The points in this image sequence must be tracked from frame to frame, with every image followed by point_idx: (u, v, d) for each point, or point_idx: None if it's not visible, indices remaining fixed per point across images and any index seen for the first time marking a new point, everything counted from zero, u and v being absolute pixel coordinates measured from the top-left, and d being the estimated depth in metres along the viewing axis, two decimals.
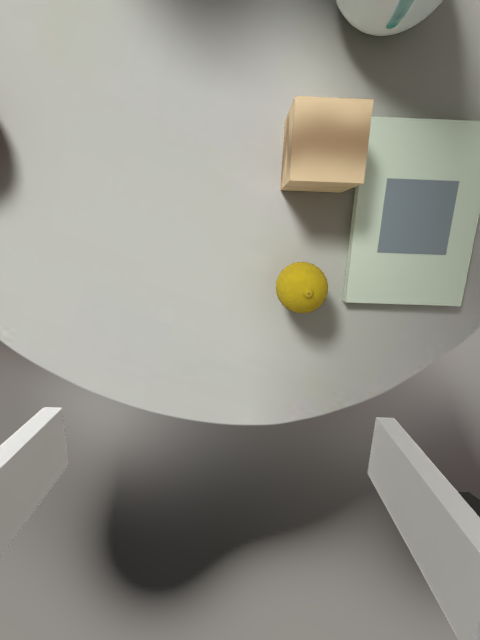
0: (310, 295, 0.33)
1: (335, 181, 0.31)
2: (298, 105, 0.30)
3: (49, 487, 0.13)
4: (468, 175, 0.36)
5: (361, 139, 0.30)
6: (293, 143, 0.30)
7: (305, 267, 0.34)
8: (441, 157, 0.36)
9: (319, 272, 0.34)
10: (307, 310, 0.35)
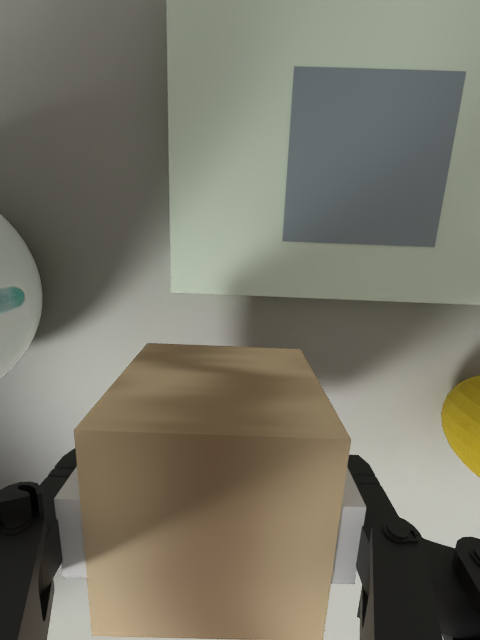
0: None
1: (335, 523, 0.09)
2: (116, 629, 0.10)
3: None
4: (282, 43, 0.15)
5: (203, 456, 0.09)
6: (219, 636, 0.10)
7: None
8: (242, 121, 0.16)
9: None
10: None
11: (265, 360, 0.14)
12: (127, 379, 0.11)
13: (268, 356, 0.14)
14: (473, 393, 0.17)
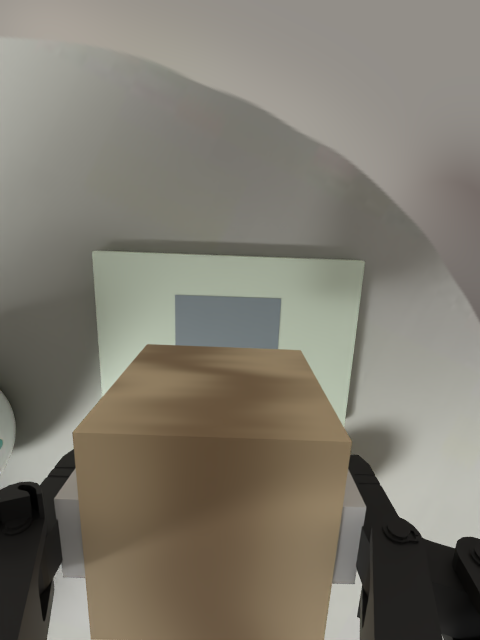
0: None
1: (336, 526, 0.09)
2: (115, 632, 0.10)
3: None
4: (166, 282, 0.25)
5: (202, 459, 0.08)
6: (219, 639, 0.10)
7: None
8: (145, 324, 0.25)
9: None
10: None
11: (265, 361, 0.14)
12: (126, 381, 0.11)
13: (268, 357, 0.14)
14: None
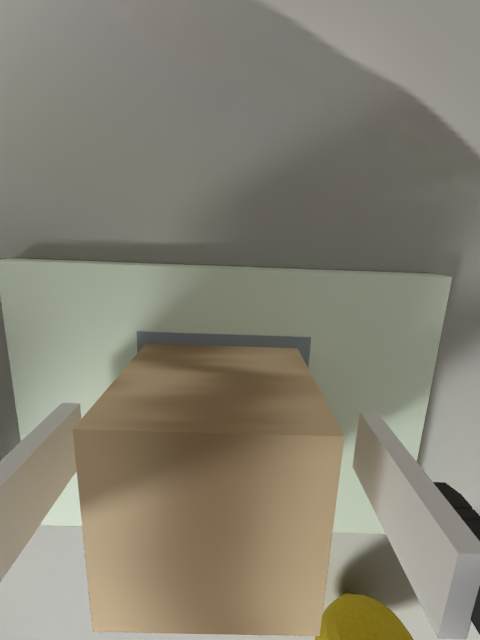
0: None
1: (330, 519, 0.09)
2: (116, 625, 0.10)
3: (68, 480, 0.13)
4: (122, 311, 0.15)
5: (199, 454, 0.09)
6: (217, 631, 0.10)
7: None
8: (89, 378, 0.16)
9: None
10: None
11: (262, 360, 0.14)
12: (125, 379, 0.11)
13: (265, 355, 0.14)
14: None
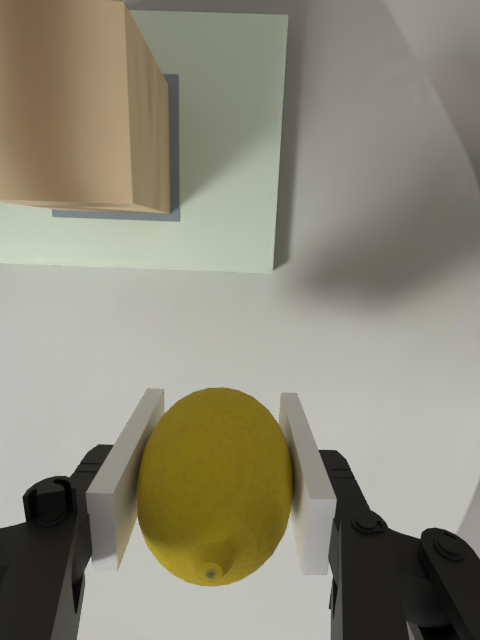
0: (218, 568, 0.08)
1: (126, 84, 0.13)
2: None
3: None
4: None
5: (24, 19, 0.12)
6: (57, 197, 0.14)
7: (138, 516, 0.10)
8: None
9: (150, 475, 0.10)
10: (281, 518, 0.10)
11: None
12: None
13: None
14: (163, 417, 0.12)
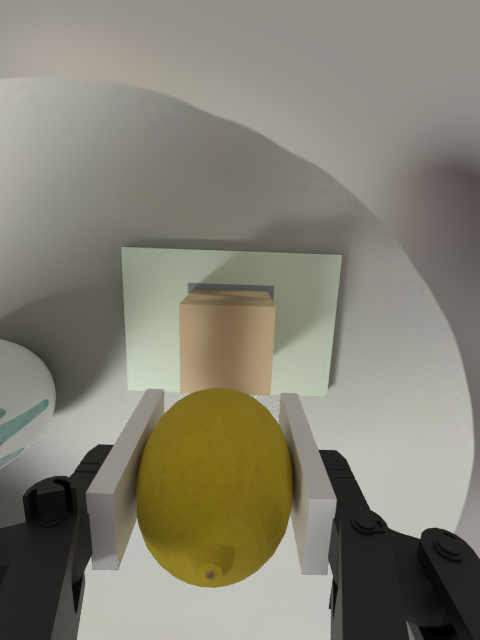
0: (217, 569, 0.08)
1: (272, 341, 0.25)
2: (189, 389, 0.26)
3: None
4: (180, 272, 0.30)
5: (224, 314, 0.24)
6: None
7: (137, 517, 0.10)
8: (163, 307, 0.31)
9: (150, 476, 0.10)
10: (281, 519, 0.10)
11: (249, 293, 0.29)
12: (190, 296, 0.27)
13: (251, 292, 0.30)
14: (163, 417, 0.12)
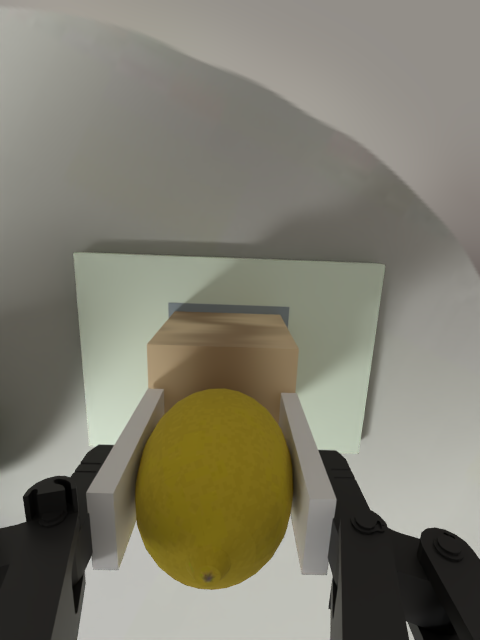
0: (215, 571, 0.08)
1: None
2: None
3: None
4: (158, 288, 0.22)
5: (217, 359, 0.15)
6: None
7: (136, 518, 0.10)
8: (134, 336, 0.22)
9: (149, 476, 0.10)
10: (280, 521, 0.10)
11: (255, 319, 0.20)
12: (168, 326, 0.18)
13: (257, 317, 0.21)
14: (163, 418, 0.12)
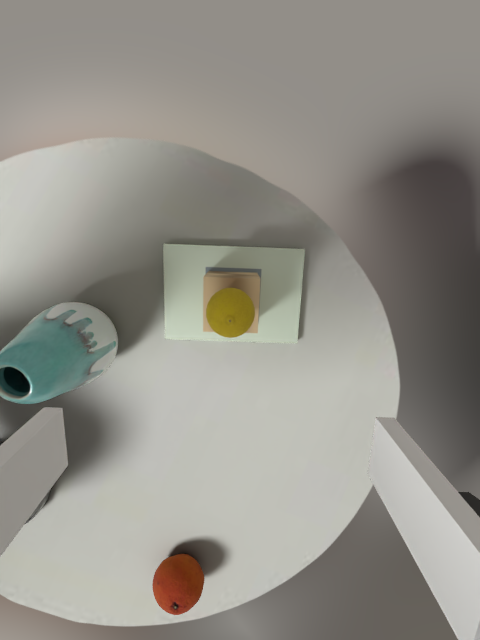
0: (231, 319, 0.34)
1: (258, 299, 0.41)
2: (208, 329, 0.42)
3: (49, 487, 0.13)
4: (201, 260, 0.47)
5: (229, 282, 0.41)
6: None
7: (208, 317, 0.36)
8: (189, 283, 0.48)
9: (212, 303, 0.35)
10: (249, 315, 0.35)
11: (245, 273, 0.46)
12: (208, 274, 0.44)
13: (246, 273, 0.47)
14: None
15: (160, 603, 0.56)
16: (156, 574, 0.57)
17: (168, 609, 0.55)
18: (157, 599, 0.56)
